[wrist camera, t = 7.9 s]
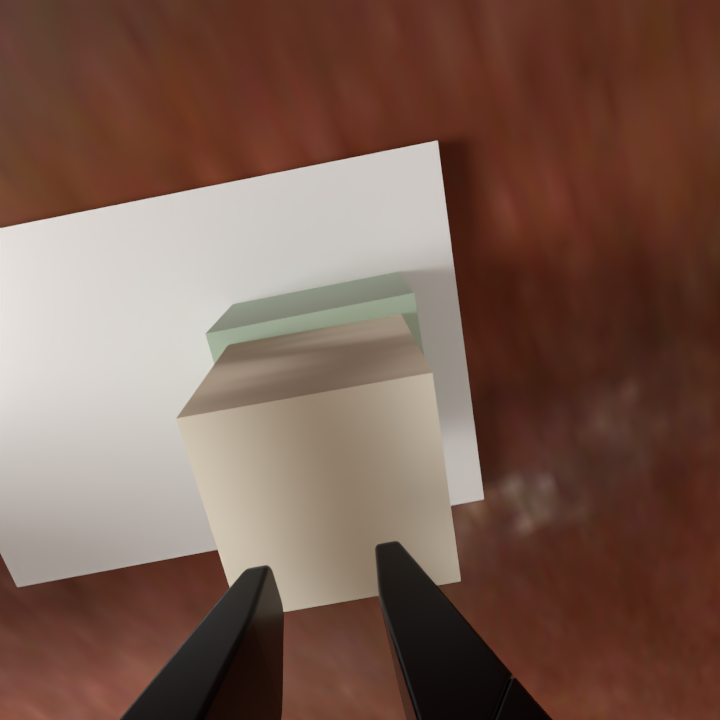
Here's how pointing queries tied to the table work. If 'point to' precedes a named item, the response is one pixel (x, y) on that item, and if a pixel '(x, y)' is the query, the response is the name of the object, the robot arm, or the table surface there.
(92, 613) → the table surface
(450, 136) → the table surface
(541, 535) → the table surface
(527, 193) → the table surface
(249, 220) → the pale grey board
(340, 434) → the cream block
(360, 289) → the green block
